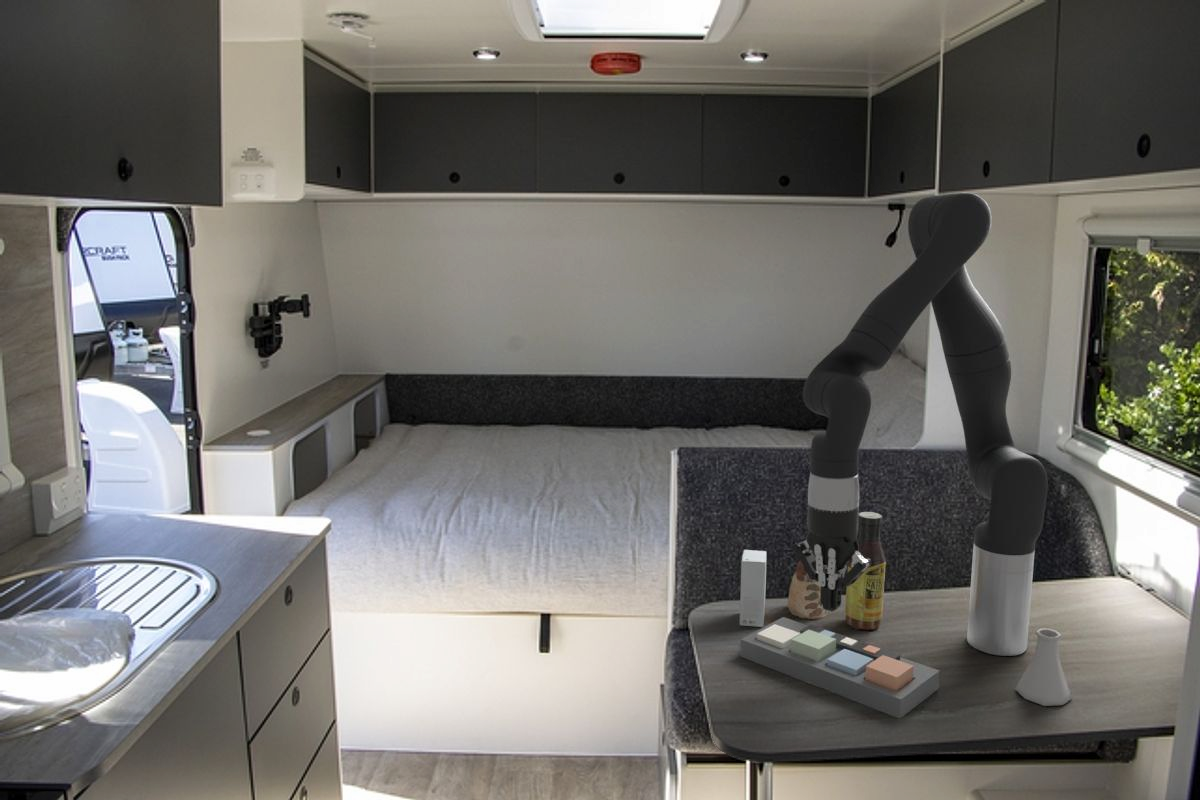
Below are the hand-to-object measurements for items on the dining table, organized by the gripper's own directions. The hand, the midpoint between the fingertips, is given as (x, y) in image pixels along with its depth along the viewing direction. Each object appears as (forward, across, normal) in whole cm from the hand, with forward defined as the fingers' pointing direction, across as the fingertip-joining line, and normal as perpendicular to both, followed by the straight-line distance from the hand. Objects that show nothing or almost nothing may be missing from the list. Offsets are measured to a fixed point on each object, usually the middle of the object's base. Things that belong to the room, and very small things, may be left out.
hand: (830, 608), depth 149 cm
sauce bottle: (+11, +6, -20) cm, 23 cm away
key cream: (+9, +9, +1) cm, 13 cm away
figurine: (+11, +16, -17) cm, 26 cm away
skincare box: (+11, +20, -7) cm, 24 cm away
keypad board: (+11, -1, -1) cm, 11 cm away
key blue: (+9, -4, +1) cm, 10 cm away
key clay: (+8, -11, 0) cm, 13 cm away
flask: (+11, -26, -17) cm, 33 cm away
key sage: (+8, +2, +1) cm, 8 cm away
